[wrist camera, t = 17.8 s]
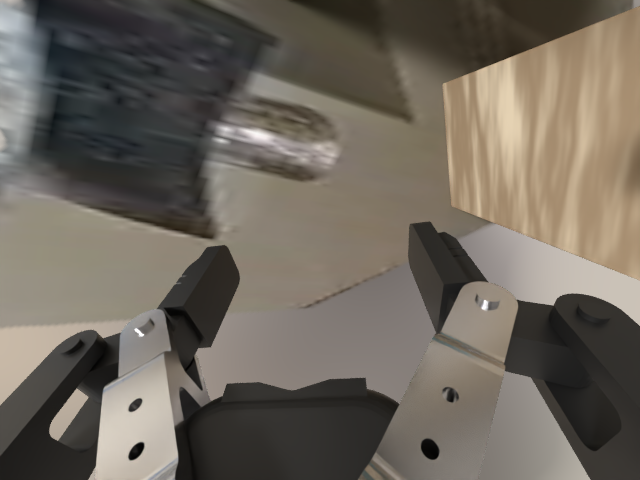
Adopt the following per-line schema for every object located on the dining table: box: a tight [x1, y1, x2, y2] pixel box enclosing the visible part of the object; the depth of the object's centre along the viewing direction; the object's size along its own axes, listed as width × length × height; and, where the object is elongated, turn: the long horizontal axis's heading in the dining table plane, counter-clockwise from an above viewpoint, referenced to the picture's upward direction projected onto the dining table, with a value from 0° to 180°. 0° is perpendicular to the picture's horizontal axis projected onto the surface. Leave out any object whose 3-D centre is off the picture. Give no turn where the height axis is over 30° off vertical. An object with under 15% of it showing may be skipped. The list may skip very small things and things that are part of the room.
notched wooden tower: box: [443, 6, 640, 280], centre depth 27 cm, size 14×20×34 cm
